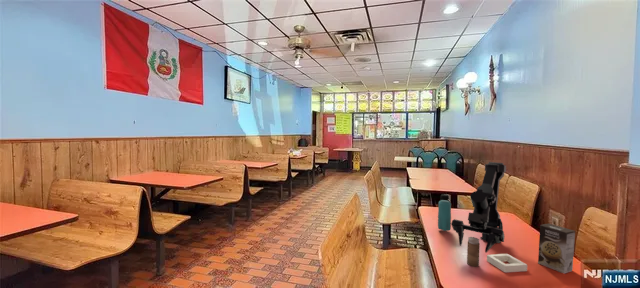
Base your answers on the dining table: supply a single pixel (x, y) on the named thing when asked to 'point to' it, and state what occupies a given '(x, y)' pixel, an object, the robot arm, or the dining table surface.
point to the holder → (512, 267)
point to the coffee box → (556, 247)
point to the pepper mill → (473, 252)
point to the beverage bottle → (444, 213)
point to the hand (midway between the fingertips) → (472, 248)
